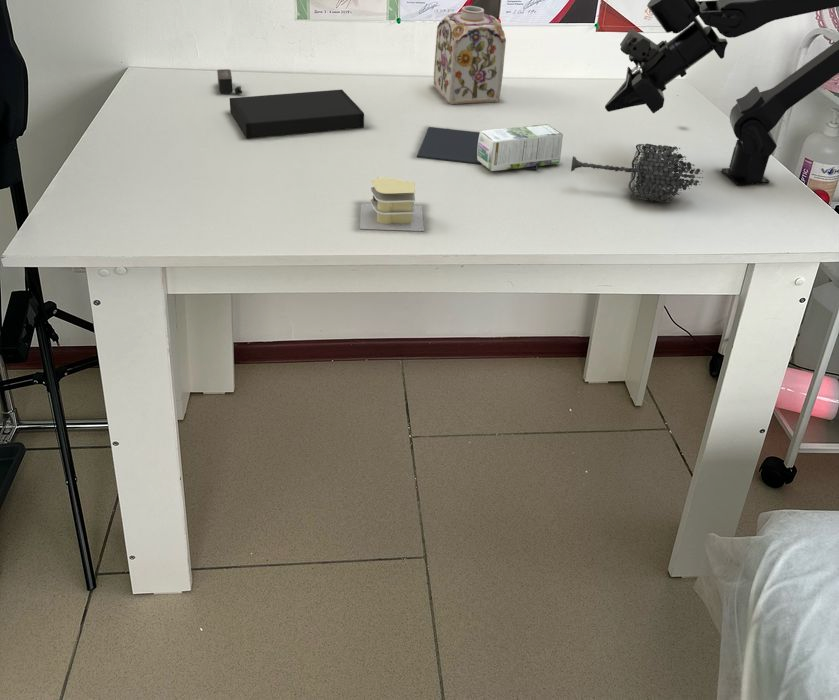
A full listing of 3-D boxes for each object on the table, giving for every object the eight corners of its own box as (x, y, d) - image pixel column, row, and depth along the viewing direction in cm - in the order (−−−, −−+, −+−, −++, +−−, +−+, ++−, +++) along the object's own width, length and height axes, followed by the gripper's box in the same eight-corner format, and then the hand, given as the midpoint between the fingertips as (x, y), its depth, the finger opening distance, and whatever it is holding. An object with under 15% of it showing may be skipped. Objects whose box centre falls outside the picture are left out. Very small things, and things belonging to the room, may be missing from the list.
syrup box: (544, 153, 171) (475, 162, 165) (548, 122, 167) (478, 130, 162) (560, 163, 166) (490, 173, 161) (564, 132, 163) (492, 141, 158)
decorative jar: (432, 86, 199) (437, 1, 189) (481, 84, 202) (489, 0, 192) (449, 105, 190) (456, 17, 179) (501, 102, 193) (510, 15, 183)
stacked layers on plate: (421, 206, 149) (423, 175, 146) (423, 231, 142) (425, 199, 139) (361, 204, 149) (361, 172, 146) (359, 229, 141) (360, 196, 138)
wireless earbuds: (219, 96, 187) (218, 80, 185) (218, 84, 192) (217, 69, 191) (242, 95, 188) (241, 80, 186) (240, 84, 193) (239, 69, 192)
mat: (540, 140, 176) (540, 139, 176) (536, 170, 164) (536, 169, 164) (428, 128, 178) (428, 126, 178) (416, 157, 166) (416, 155, 166)
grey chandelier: (568, 178, 162) (576, 127, 157) (693, 191, 160) (705, 141, 155) (567, 200, 154) (575, 148, 149) (698, 214, 152) (711, 162, 147)
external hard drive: (230, 112, 180) (229, 97, 178) (341, 103, 187) (342, 89, 186) (246, 139, 169) (245, 123, 167) (364, 128, 177) (364, 113, 175)
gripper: (651, 2, 161) (579, 59, 168) (657, 30, 146) (578, 91, 153) (686, 51, 165) (615, 104, 172) (696, 83, 149) (617, 140, 157)
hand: (606, 109), depth 163 cm, fingers closed
